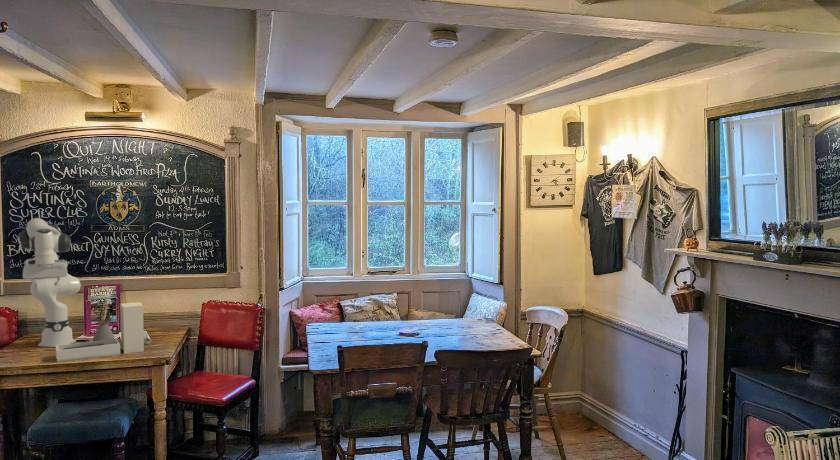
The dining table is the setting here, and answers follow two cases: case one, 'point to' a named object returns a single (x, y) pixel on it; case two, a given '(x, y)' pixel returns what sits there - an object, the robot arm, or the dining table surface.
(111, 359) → the dining table surface
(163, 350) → the dining table surface
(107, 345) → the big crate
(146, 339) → the ceramic mug
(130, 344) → the tall white pillar
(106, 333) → the coffee pot
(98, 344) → the teal rectangular bar
